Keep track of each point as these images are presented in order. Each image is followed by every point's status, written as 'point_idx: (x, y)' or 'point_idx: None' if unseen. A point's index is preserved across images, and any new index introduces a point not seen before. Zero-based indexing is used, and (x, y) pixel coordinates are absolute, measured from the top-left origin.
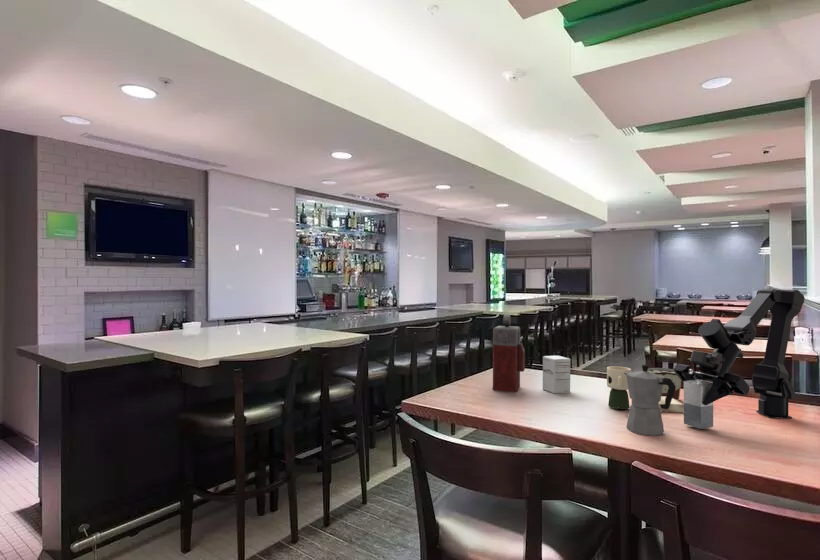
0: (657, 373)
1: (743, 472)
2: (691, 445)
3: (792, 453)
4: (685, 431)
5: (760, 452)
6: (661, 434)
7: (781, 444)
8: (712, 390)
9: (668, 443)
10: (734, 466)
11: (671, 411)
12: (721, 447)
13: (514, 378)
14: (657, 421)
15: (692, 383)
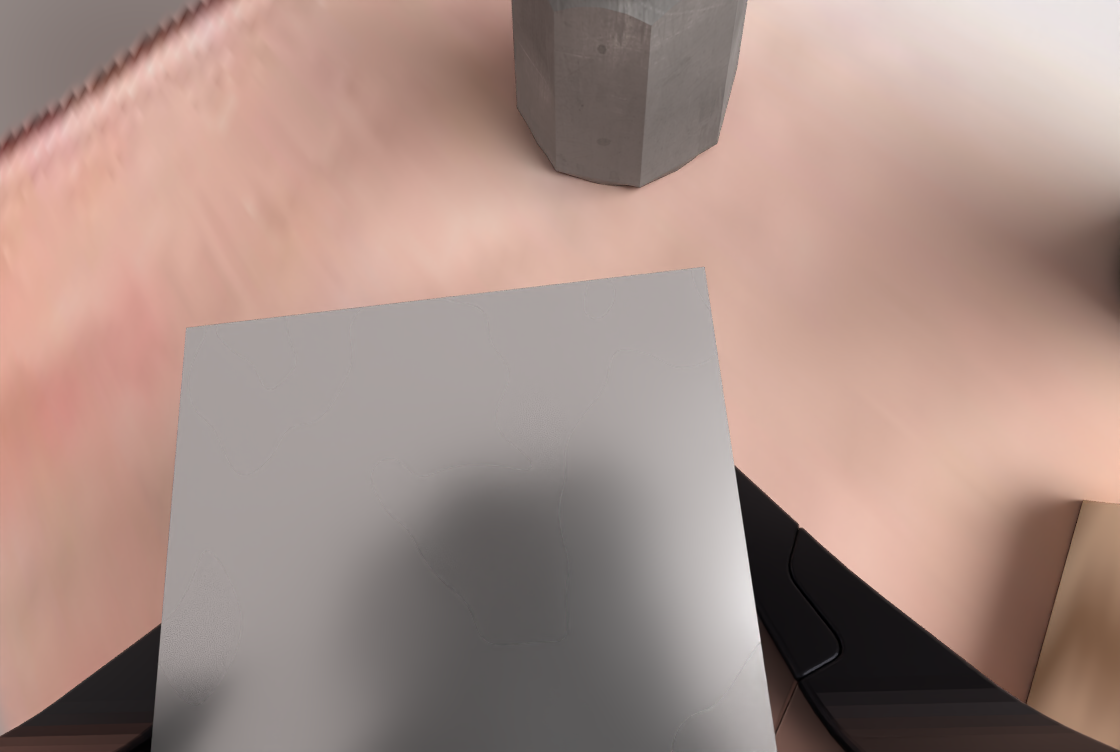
0: None
1: (59, 115)
2: (347, 160)
3: (58, 591)
4: None
5: (142, 424)
6: (532, 133)
7: None
8: None
9: (410, 70)
10: (106, 133)
11: (1036, 687)
12: (268, 288)
13: None
14: (515, 27)
15: (419, 301)
